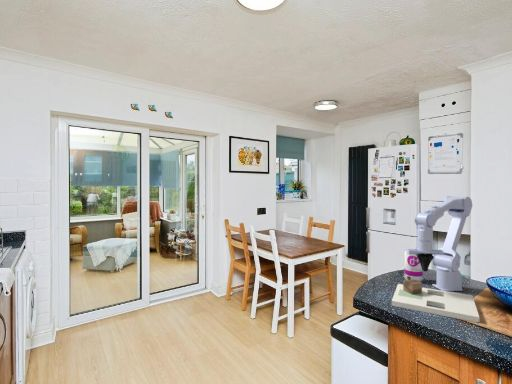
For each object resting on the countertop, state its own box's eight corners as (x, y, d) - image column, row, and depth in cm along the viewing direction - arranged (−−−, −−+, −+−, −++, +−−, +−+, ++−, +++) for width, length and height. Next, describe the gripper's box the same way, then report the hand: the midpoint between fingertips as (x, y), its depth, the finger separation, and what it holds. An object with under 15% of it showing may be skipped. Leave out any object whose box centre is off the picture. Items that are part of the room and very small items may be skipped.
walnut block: (421, 293, 123) (421, 282, 123) (412, 294, 122) (412, 284, 121) (412, 289, 128) (412, 279, 128) (403, 290, 126) (403, 280, 126)
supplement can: (422, 283, 140) (422, 253, 140) (403, 281, 144) (403, 251, 144) (423, 279, 147) (423, 250, 146) (405, 276, 151) (405, 248, 151)
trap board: (472, 300, 120) (472, 295, 120) (479, 322, 101) (479, 317, 101) (397, 287, 135) (398, 283, 135) (391, 305, 115) (391, 300, 115)
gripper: (436, 238, 130) (436, 268, 131) (403, 238, 131) (403, 267, 131) (446, 241, 123) (445, 273, 123) (411, 241, 124) (411, 272, 124)
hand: (424, 270), depth 127 cm, fingers closed
